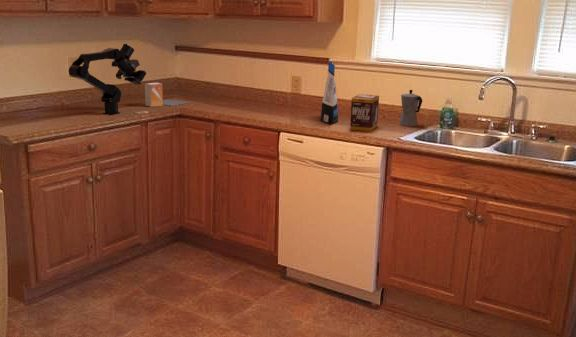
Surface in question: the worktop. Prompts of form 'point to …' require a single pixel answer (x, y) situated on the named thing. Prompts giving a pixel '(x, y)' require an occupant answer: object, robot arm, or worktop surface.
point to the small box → (153, 94)
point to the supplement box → (364, 112)
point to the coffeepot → (410, 109)
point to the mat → (172, 102)
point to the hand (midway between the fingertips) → (139, 84)
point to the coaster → (141, 112)
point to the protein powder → (330, 98)
